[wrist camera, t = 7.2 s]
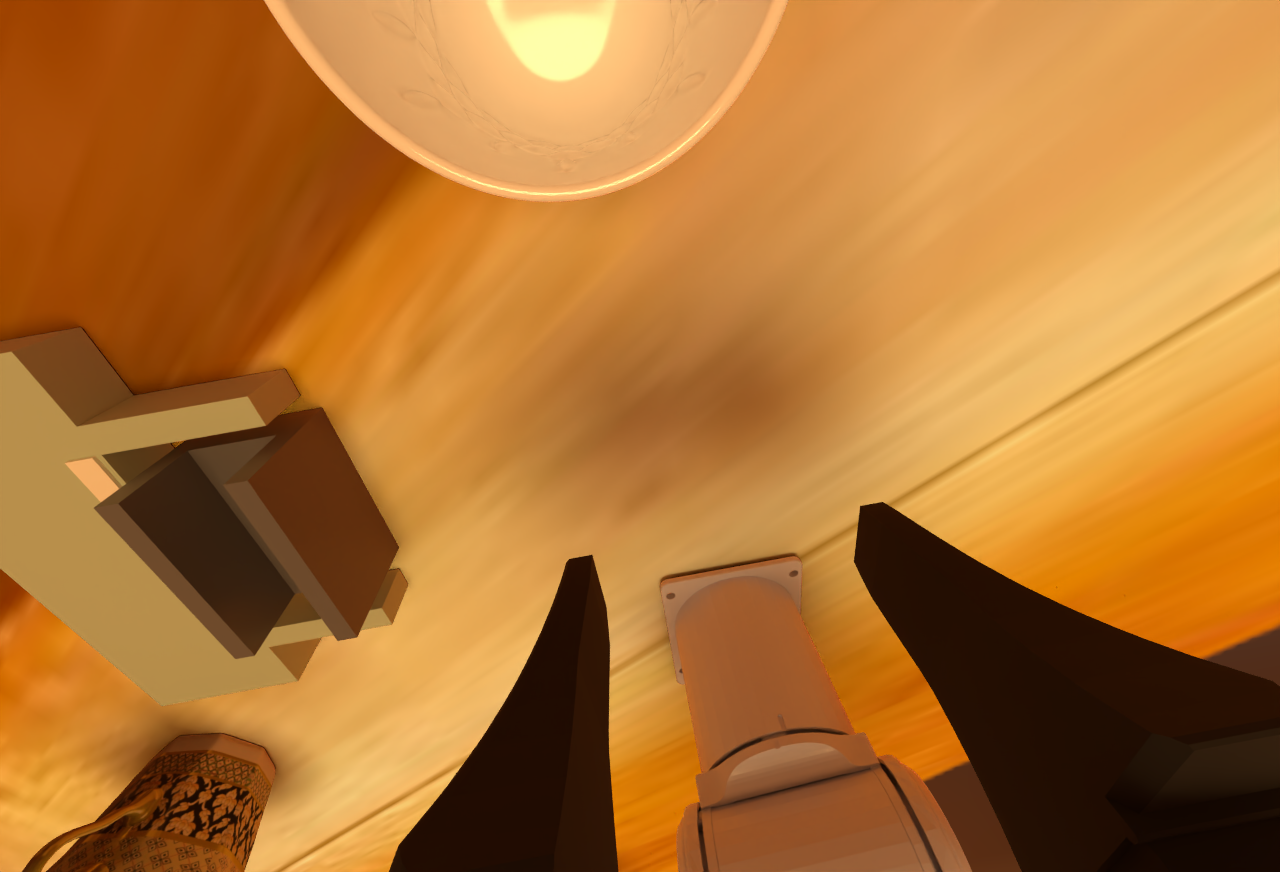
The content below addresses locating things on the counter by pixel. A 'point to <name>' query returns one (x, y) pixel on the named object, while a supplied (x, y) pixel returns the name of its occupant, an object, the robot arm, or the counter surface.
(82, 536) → the tan bracket
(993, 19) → the counter surface
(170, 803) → the ceramic cup
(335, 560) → the chute
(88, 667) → the counter surface
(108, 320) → the counter surface
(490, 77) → the white cup
